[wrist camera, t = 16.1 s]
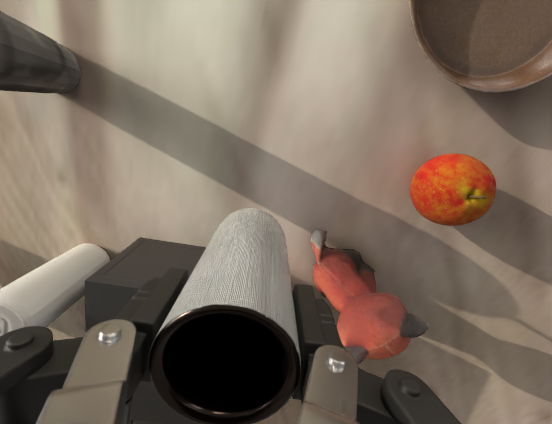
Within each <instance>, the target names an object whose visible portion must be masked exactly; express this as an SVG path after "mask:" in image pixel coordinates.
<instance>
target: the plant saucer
mask: <svg viewBox="0 0 552 424" xmlns="http://www.w3.org/2000/svg"><path fill="white" fill-rule="evenodd" d="M409 10H410V17H411V22H412V26H413V30H414V33H415V36H416V39H417V41H418V43H419V45H420V48H421V49H422V51H423V53H424V54H425V56H426V58H427V59H428V60H429V61H430V63H431V64H432V65H433V66H434V67H435V68H436V69H437V70H438V71H439V72H440V73H441V74H442V75H443V76H445V77H446V78H447V79H449V80H450V81H452V82H454V83H456V84H458V85H460V86H462V87H464V88H468V89H471V90H475V91H480V92H493V93H496V92H509V91H514V90H519V89H523V88H526V87H529V86H531V85H534V84H536V83H538V82H541V81H543V80H544V79H546V78H548V77H550V76H552V0H409Z"/></svg>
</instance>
